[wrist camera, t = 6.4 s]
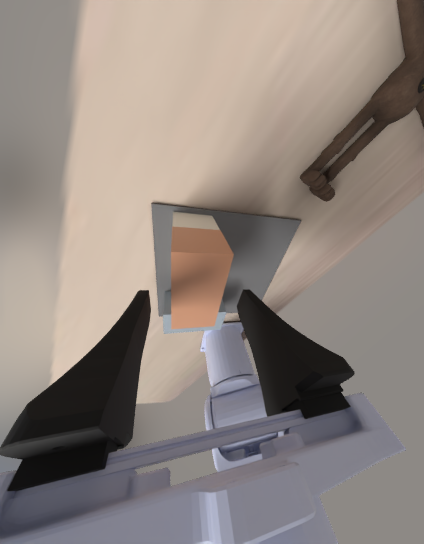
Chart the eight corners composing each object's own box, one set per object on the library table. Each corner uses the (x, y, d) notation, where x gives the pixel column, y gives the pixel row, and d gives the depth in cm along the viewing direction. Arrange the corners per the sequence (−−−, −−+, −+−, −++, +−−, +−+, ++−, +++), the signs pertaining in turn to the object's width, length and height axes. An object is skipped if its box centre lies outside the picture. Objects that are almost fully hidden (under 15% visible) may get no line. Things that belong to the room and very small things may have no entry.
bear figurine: (259, 115, 11) (748, -647, 3) (242, 118, 14) (478, -275, 7) (356, 238, 19) (556, 94, 12) (332, 222, 22) (478, 101, 15)
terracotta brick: (207, 296, 18) (214, 326, 15) (172, 296, 17) (171, 329, 14) (220, 230, 13) (233, 254, 10) (172, 226, 12) (170, 251, 9)
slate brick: (219, 290, 24) (226, 311, 21) (215, 308, 26) (220, 329, 23) (164, 291, 22) (162, 314, 19) (165, 310, 24) (163, 333, 21)
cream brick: (202, 274, 21) (207, 296, 18) (172, 274, 20) (171, 297, 17) (212, 215, 16) (220, 230, 13) (173, 211, 16) (172, 226, 12)
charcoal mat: (255, 310, 29) (255, 311, 29) (159, 314, 25) (158, 316, 25) (299, 220, 19) (301, 220, 19) (151, 202, 15) (151, 203, 15)
